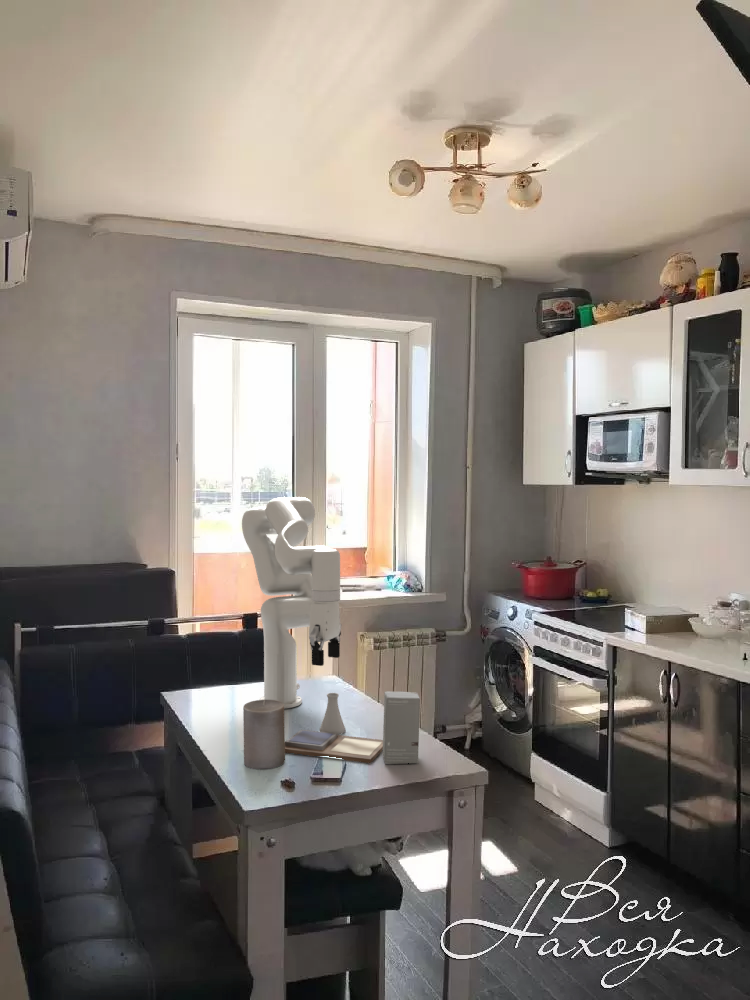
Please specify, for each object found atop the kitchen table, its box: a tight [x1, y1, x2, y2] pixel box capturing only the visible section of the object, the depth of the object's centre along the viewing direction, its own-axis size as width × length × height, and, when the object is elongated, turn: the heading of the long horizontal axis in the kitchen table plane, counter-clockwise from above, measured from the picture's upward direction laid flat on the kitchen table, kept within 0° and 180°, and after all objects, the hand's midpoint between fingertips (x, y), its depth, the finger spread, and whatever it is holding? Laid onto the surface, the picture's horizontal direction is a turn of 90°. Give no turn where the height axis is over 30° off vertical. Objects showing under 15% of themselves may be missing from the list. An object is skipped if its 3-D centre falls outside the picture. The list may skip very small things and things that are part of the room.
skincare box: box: [382, 691, 421, 765], centre depth 194 cm, size 8×7×16 cm
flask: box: [319, 692, 346, 735], centre depth 215 cm, size 7×7×10 cm
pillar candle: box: [242, 699, 286, 770], centre depth 192 cm, size 10×10×15 cm
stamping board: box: [285, 729, 383, 764], centre depth 202 cm, size 14×24×2 cm, turn 72°
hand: (325, 661), depth 213 cm, fingers open, 9 cm apart
